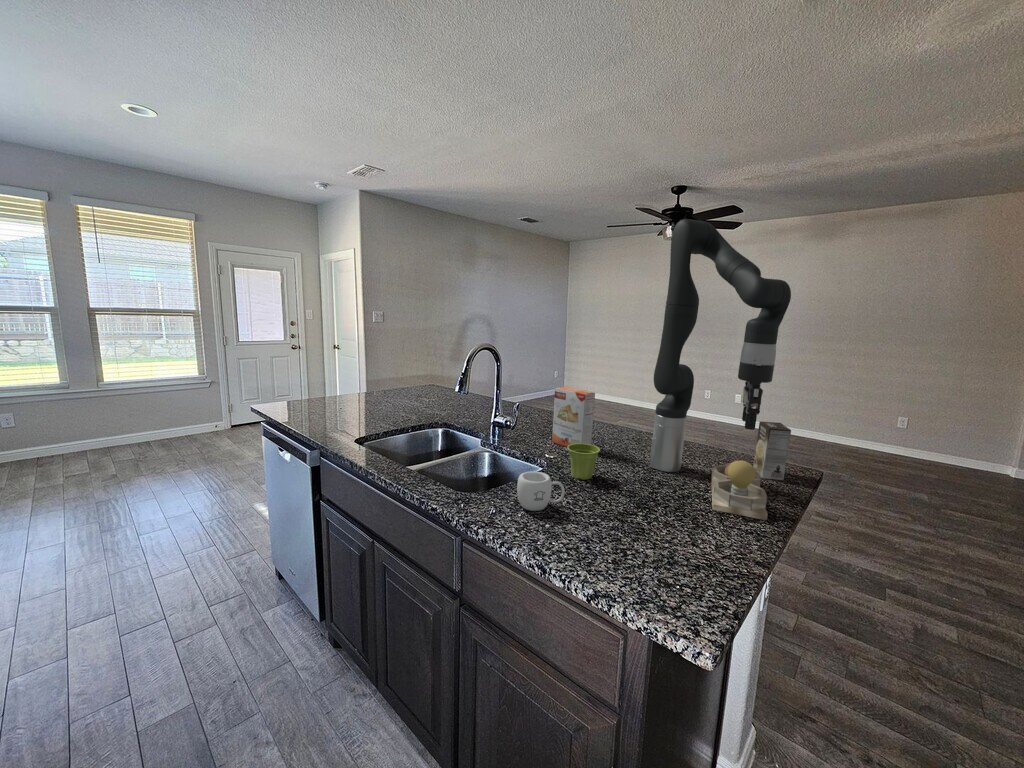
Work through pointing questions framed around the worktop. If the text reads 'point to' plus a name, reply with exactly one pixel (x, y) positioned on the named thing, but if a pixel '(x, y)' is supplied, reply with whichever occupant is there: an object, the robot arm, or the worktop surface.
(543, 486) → the mug
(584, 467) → the plant pot
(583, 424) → the cracker box
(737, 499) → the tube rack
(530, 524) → the worktop surface
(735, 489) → the light bulb
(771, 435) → the coffee box
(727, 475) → the terracotta ball
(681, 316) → the robot arm
